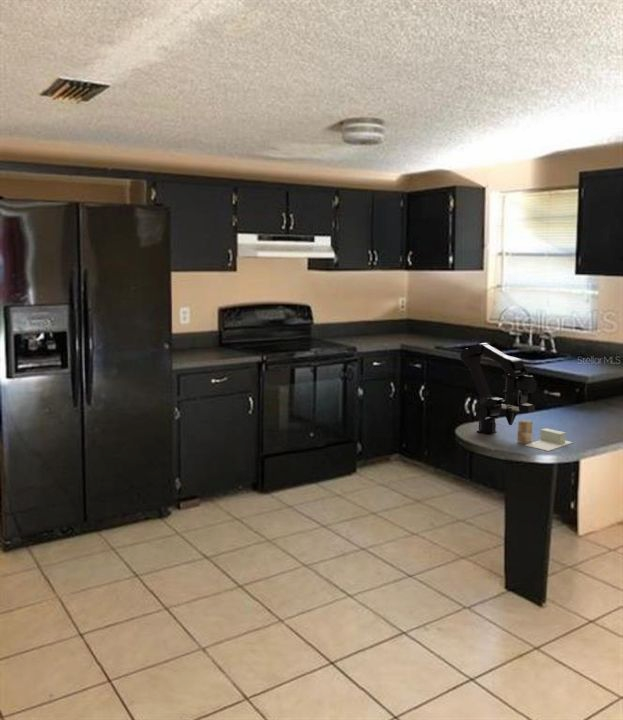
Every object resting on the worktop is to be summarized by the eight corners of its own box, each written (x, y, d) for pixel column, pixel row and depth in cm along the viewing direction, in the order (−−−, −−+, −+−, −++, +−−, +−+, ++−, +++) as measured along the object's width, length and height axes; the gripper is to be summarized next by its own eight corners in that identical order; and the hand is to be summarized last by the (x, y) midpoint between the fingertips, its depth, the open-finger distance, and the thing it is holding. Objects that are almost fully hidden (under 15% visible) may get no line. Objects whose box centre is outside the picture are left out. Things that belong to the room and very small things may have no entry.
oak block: (517, 442, 287) (518, 421, 285) (522, 440, 289) (523, 419, 288) (525, 444, 284) (527, 423, 282) (531, 442, 286) (532, 421, 285)
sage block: (540, 429, 290) (560, 434, 283) (545, 428, 293) (565, 432, 286) (540, 438, 291) (559, 443, 284) (545, 437, 293) (564, 441, 287)
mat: (524, 445, 282) (524, 444, 282) (549, 437, 294) (549, 436, 294) (548, 451, 274) (548, 450, 274) (572, 442, 286) (572, 442, 286)
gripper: (543, 389, 286) (540, 426, 289) (504, 382, 300) (502, 417, 303) (528, 393, 279) (526, 430, 282) (489, 386, 293) (487, 421, 296)
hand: (510, 424), depth 291 cm, fingers closed
